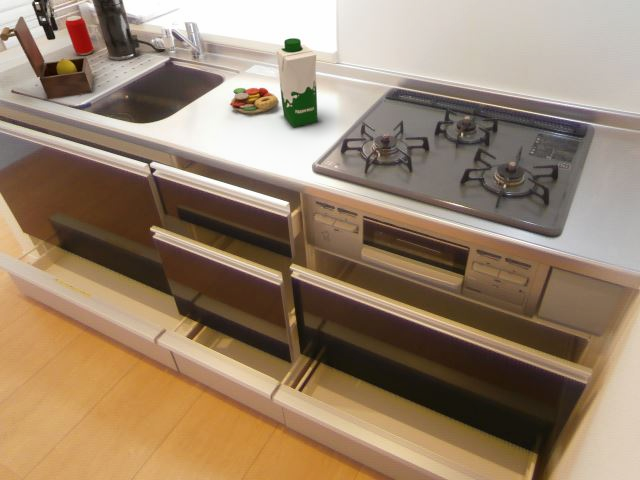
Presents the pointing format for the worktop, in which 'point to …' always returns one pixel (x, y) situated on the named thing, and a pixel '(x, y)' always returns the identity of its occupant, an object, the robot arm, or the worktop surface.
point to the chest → (66, 79)
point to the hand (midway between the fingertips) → (53, 34)
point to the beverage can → (79, 35)
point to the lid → (25, 44)
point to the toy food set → (253, 100)
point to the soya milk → (298, 82)
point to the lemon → (65, 67)
